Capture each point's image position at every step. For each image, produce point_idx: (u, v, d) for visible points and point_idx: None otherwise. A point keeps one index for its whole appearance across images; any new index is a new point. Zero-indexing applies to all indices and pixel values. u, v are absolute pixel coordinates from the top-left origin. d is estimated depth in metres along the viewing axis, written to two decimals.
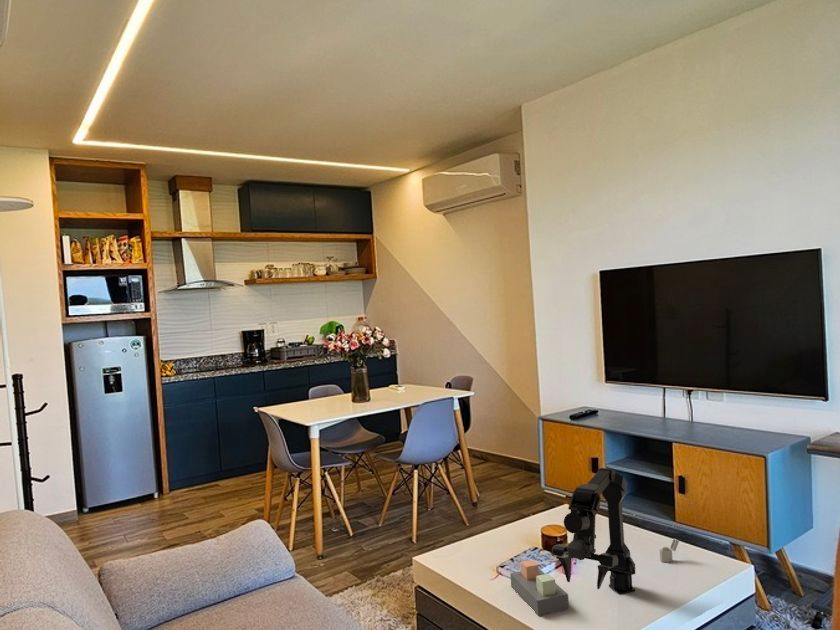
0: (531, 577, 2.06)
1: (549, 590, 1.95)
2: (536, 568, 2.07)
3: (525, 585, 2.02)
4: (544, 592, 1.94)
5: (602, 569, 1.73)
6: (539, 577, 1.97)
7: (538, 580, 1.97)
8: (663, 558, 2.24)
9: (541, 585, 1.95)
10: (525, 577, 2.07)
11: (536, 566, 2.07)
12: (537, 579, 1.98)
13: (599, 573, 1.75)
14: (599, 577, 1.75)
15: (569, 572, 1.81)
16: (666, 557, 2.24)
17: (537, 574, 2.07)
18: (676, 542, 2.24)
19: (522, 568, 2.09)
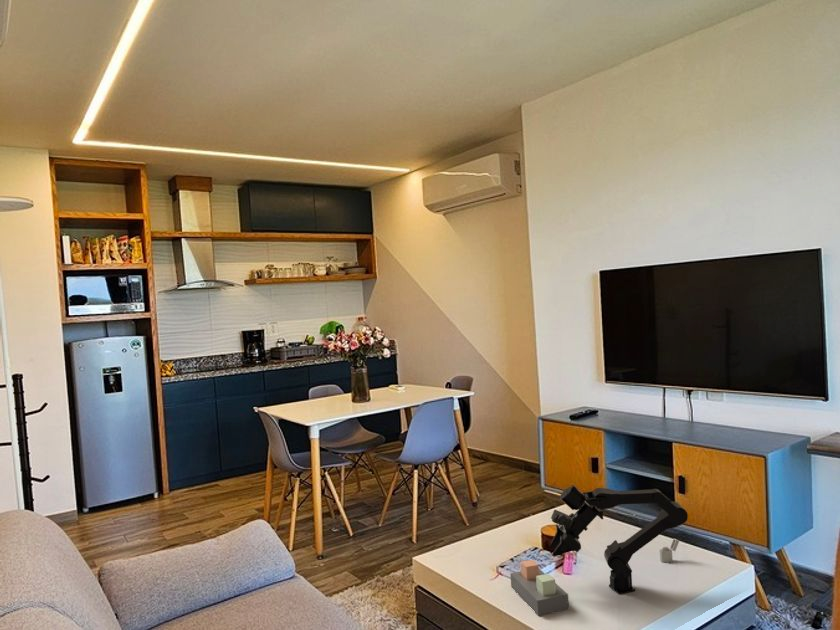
0: (531, 577, 2.06)
1: (549, 590, 1.95)
2: (536, 568, 2.07)
3: (525, 585, 2.02)
4: (544, 592, 1.94)
5: (560, 540, 2.02)
6: (539, 577, 1.97)
7: (538, 580, 1.97)
8: (663, 558, 2.24)
9: (541, 585, 1.95)
10: (525, 577, 2.07)
11: (536, 566, 2.07)
12: (537, 579, 1.98)
13: (559, 543, 2.03)
14: (557, 546, 2.04)
15: (556, 542, 2.11)
16: (666, 557, 2.24)
17: (537, 574, 2.07)
18: (676, 542, 2.24)
19: (522, 568, 2.09)
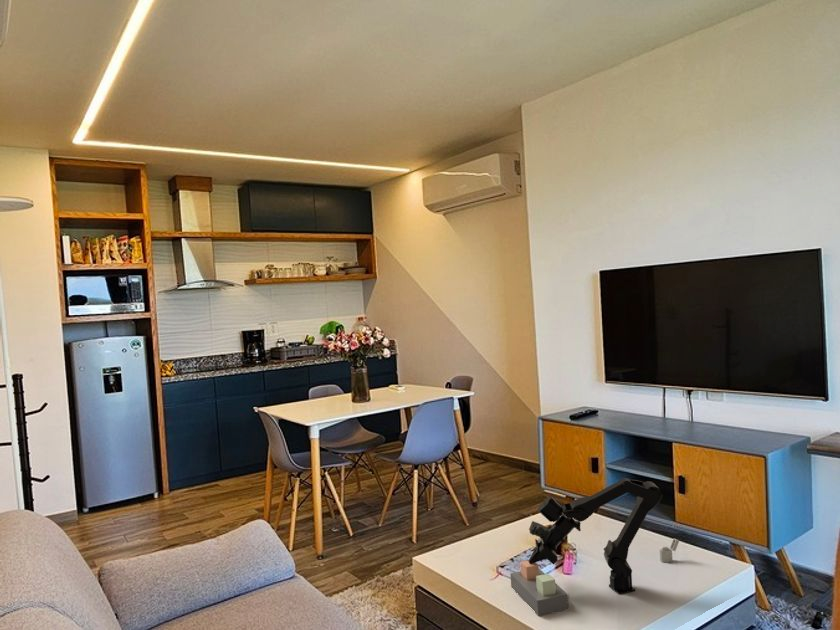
0: (531, 577, 2.06)
1: (549, 590, 1.95)
2: (536, 569, 2.07)
3: (525, 585, 2.02)
4: (544, 592, 1.94)
5: (536, 548, 2.06)
6: (539, 577, 1.97)
7: (538, 580, 1.97)
8: (663, 558, 2.24)
9: (541, 585, 1.95)
10: (525, 577, 2.07)
11: (536, 566, 2.07)
12: (537, 579, 1.98)
13: (535, 551, 2.07)
14: (533, 554, 2.08)
15: None
16: (666, 557, 2.24)
17: (537, 574, 2.07)
18: (676, 542, 2.24)
19: (522, 568, 2.09)
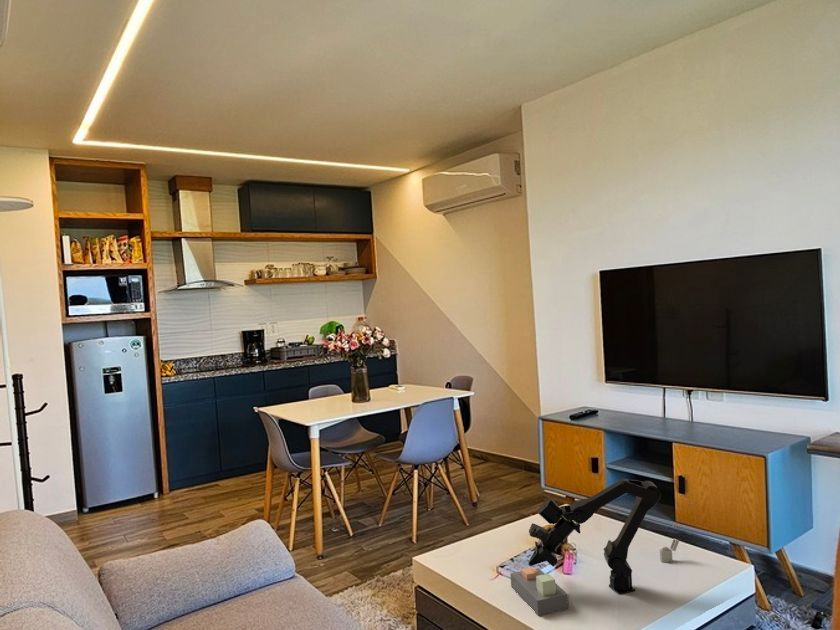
0: None
1: (549, 590, 1.95)
2: None
3: (525, 585, 2.02)
4: (544, 592, 1.94)
5: (536, 550, 2.06)
6: (539, 577, 1.97)
7: (538, 580, 1.97)
8: (663, 558, 2.24)
9: (541, 585, 1.95)
10: None
11: (536, 573, 2.07)
12: (537, 579, 1.98)
13: (535, 553, 2.07)
14: (533, 556, 2.08)
15: None
16: (666, 557, 2.24)
17: None
18: (676, 542, 2.24)
19: (522, 575, 2.09)
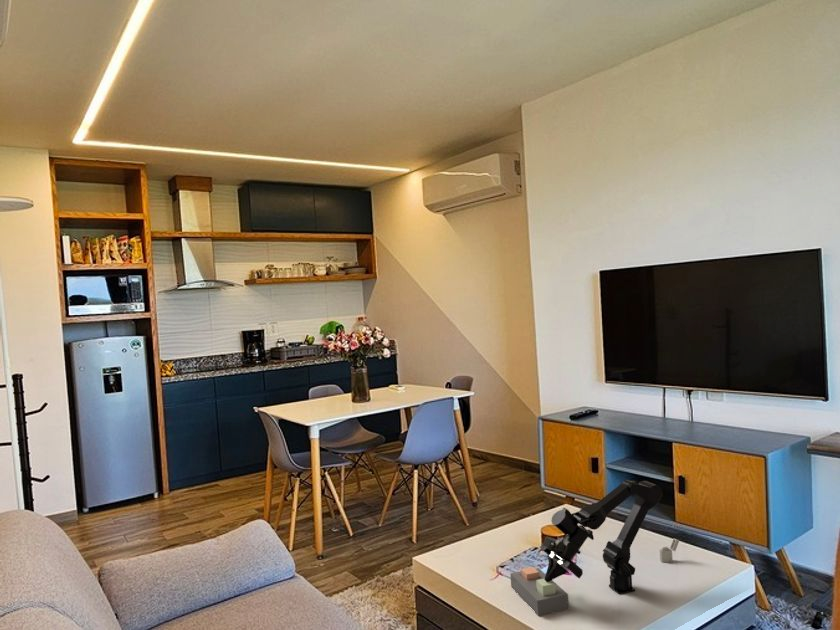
0: None
1: (549, 594, 1.95)
2: (536, 576, 2.07)
3: (525, 585, 2.02)
4: None
5: (555, 564, 1.96)
6: (539, 581, 1.97)
7: (538, 584, 1.97)
8: (663, 558, 2.24)
9: (541, 589, 1.95)
10: None
11: (536, 573, 2.07)
12: (537, 583, 1.98)
13: (552, 568, 1.97)
14: (550, 571, 1.97)
15: None
16: (666, 557, 2.24)
17: None
18: (676, 542, 2.24)
19: (522, 575, 2.09)
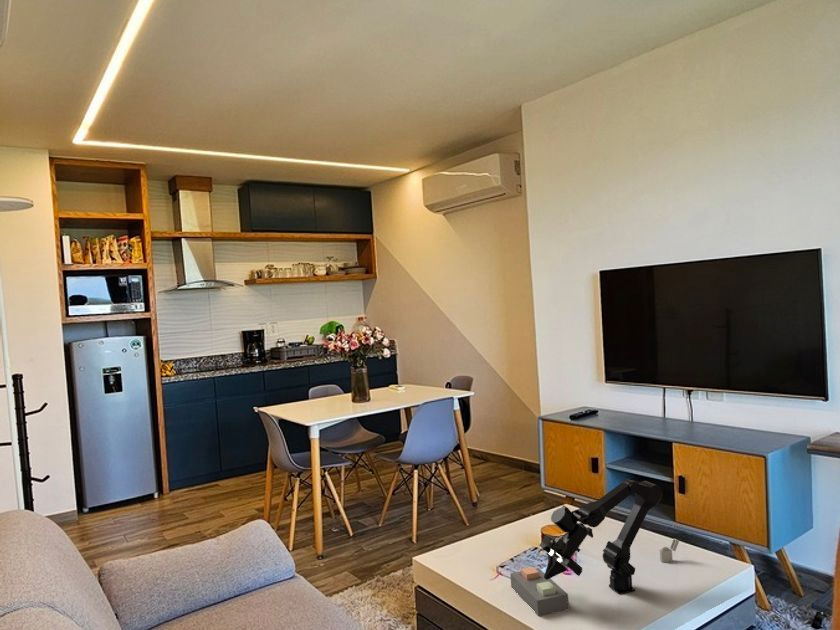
0: None
1: None
2: (536, 576, 2.07)
3: (525, 585, 2.02)
4: None
5: (554, 562, 1.96)
6: (539, 585, 1.97)
7: (538, 588, 1.97)
8: (663, 558, 2.24)
9: (542, 593, 1.95)
10: None
11: (536, 573, 2.07)
12: (537, 587, 1.98)
13: (552, 565, 1.97)
14: (550, 568, 1.97)
15: None
16: (666, 557, 2.24)
17: None
18: (676, 542, 2.24)
19: (522, 575, 2.09)
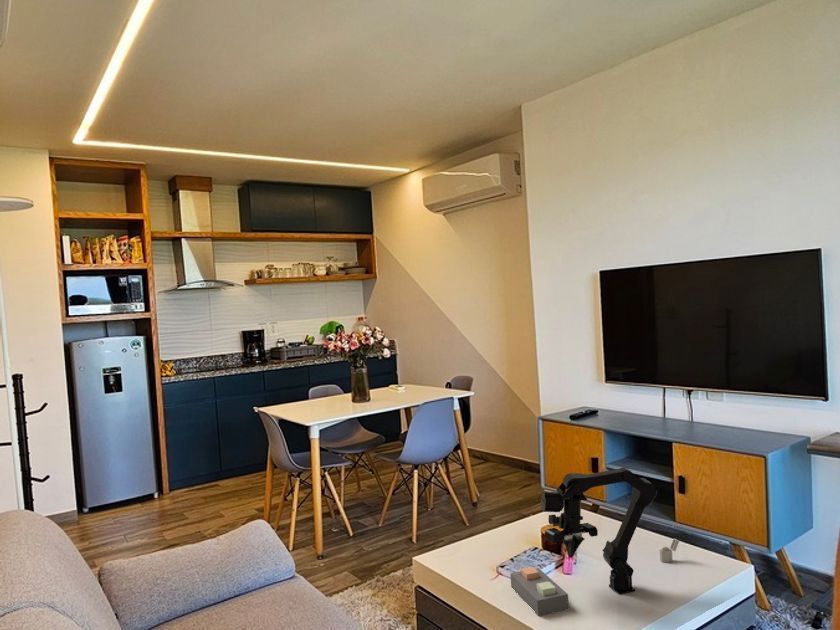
0: None
1: None
2: (536, 576, 2.07)
3: (525, 585, 2.02)
4: None
5: None
6: (539, 585, 1.97)
7: (538, 588, 1.97)
8: (663, 558, 2.24)
9: (542, 593, 1.95)
10: None
11: (536, 573, 2.07)
12: (537, 587, 1.98)
13: None
14: None
15: None
16: (666, 557, 2.24)
17: None
18: (676, 542, 2.24)
19: (522, 575, 2.09)
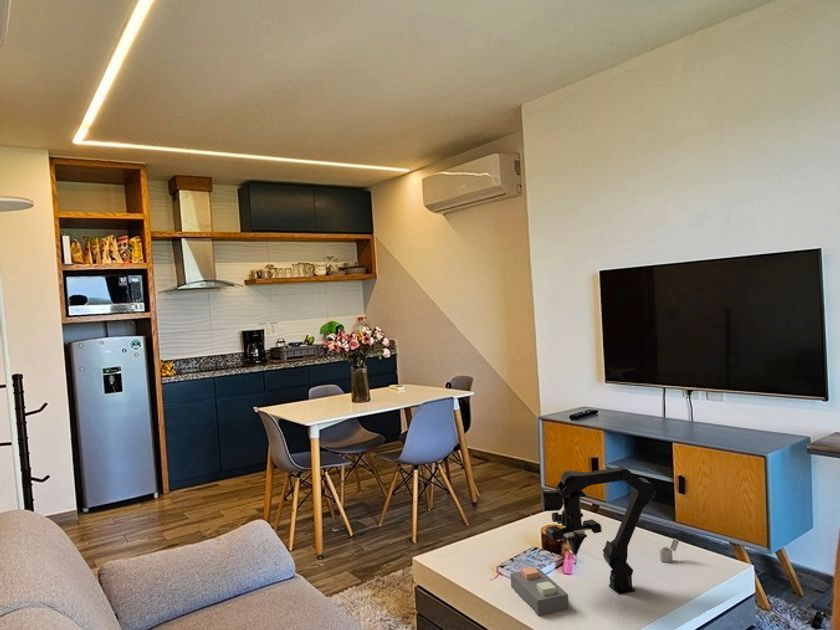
0: None
1: None
2: (536, 576, 2.07)
3: (525, 585, 2.02)
4: None
5: None
6: (539, 585, 1.97)
7: (538, 588, 1.97)
8: (663, 558, 2.24)
9: (542, 593, 1.95)
10: None
11: (536, 573, 2.07)
12: (537, 587, 1.98)
13: None
14: None
15: None
16: (666, 557, 2.24)
17: None
18: (676, 542, 2.24)
19: (522, 575, 2.09)
